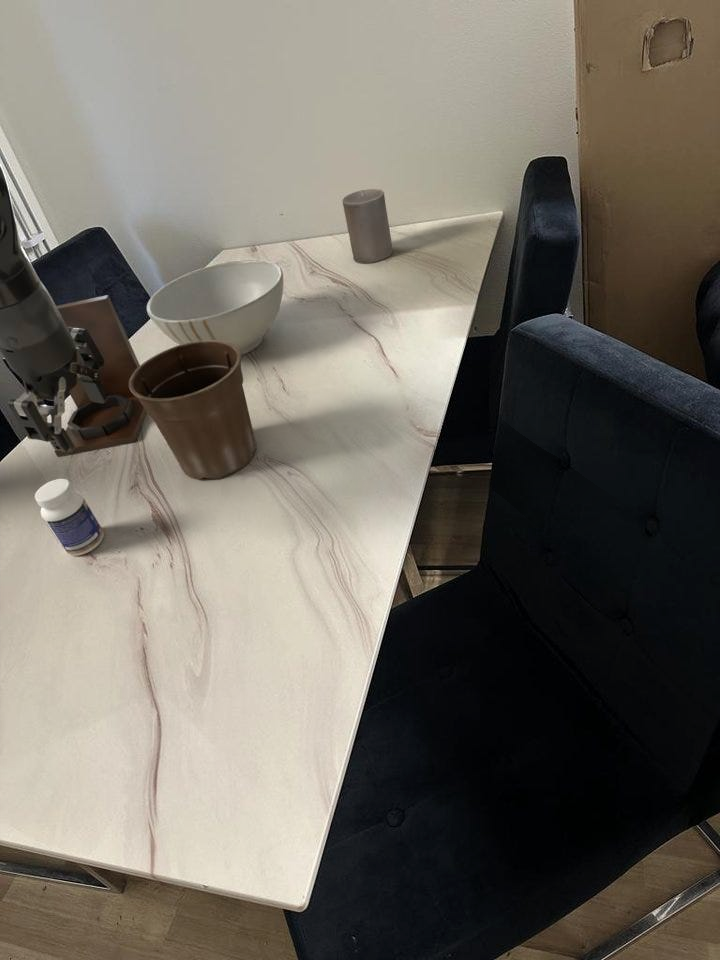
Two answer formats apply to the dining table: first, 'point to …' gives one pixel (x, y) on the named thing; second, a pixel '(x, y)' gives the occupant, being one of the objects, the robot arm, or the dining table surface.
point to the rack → (103, 380)
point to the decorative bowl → (220, 303)
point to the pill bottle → (69, 517)
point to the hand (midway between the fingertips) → (83, 424)
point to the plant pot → (199, 406)
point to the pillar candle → (368, 225)
